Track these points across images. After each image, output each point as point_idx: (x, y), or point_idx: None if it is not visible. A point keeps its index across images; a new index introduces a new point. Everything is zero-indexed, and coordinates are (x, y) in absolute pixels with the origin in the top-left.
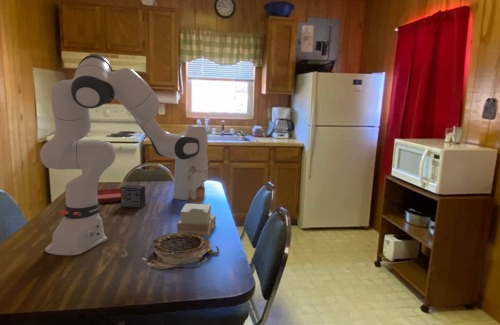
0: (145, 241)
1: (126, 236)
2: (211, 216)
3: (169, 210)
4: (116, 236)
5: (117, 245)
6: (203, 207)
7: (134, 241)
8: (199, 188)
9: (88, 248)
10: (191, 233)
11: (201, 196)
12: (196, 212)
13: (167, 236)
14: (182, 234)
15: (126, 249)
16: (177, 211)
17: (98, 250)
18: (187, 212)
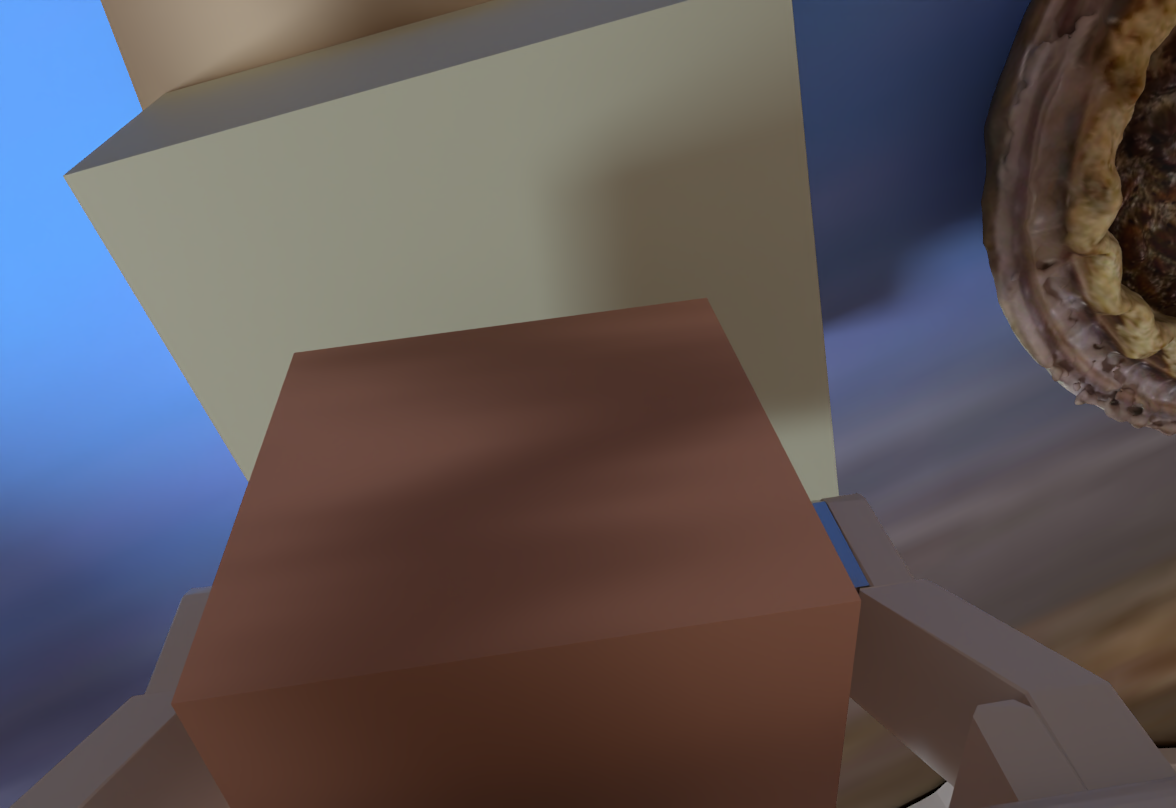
0: (991, 529)
1: None
2: (220, 43)
3: (53, 751)
4: (899, 746)
5: (1083, 655)
6: (415, 250)
7: (995, 601)
8: (526, 768)
9: (1171, 756)
10: (1054, 93)
11: (706, 420)
12: (812, 254)
13: (1110, 365)
14: (1117, 203)
15: (1171, 567)
16: (16, 679)
17: (1173, 700)
18: (828, 417)
